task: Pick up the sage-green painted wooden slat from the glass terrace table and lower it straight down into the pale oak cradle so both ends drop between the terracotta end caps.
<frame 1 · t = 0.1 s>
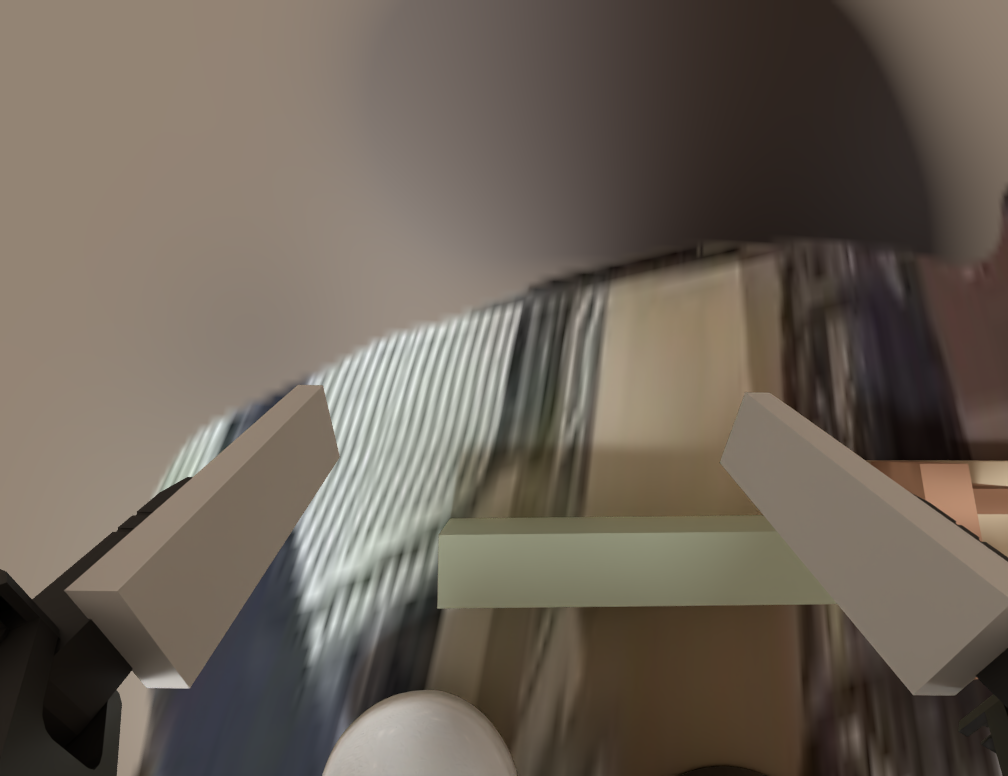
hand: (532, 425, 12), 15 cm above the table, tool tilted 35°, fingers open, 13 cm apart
slat: (617, 544, 26), on the table
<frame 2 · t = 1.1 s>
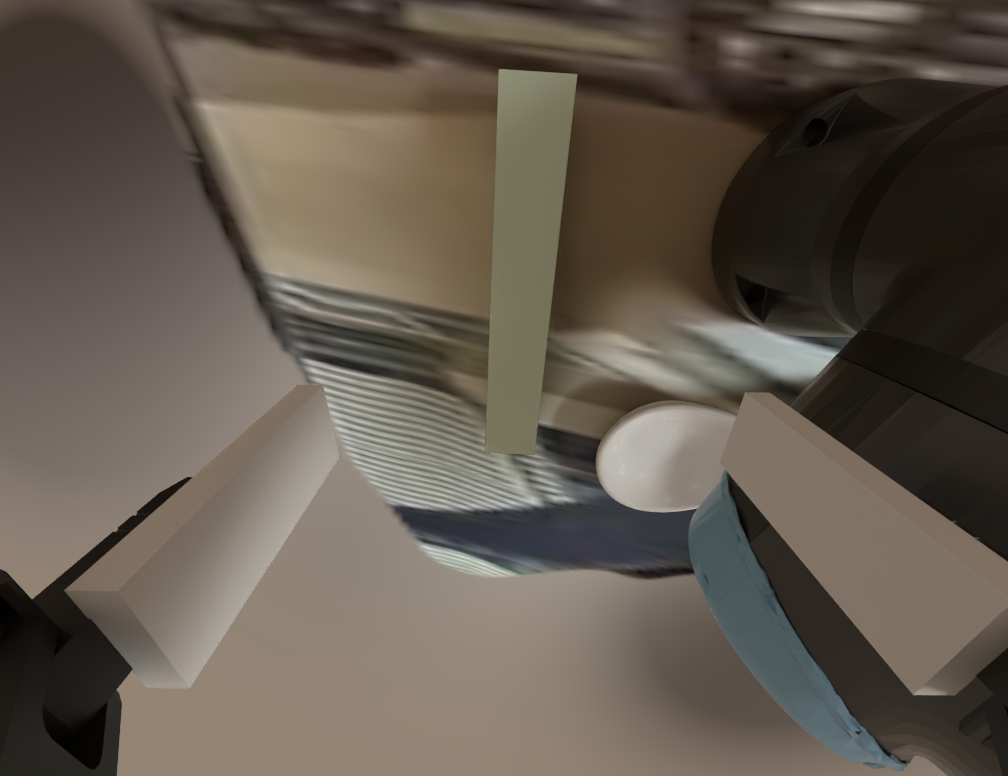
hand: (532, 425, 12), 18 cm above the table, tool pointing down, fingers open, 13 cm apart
spoon rest: (715, 423, 34), on the table
slat: (518, 290, 28), on the table
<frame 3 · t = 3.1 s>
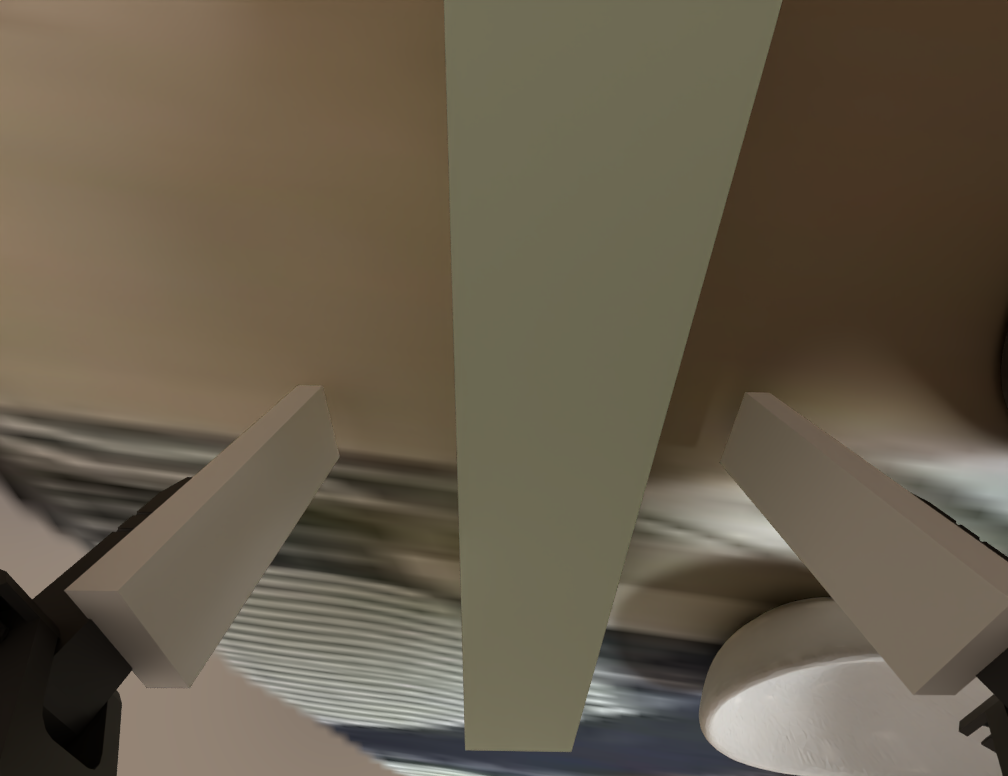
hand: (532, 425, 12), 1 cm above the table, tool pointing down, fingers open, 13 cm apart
spoon rest: (913, 607, 18), on the table
slat: (532, 408, 13), on the table
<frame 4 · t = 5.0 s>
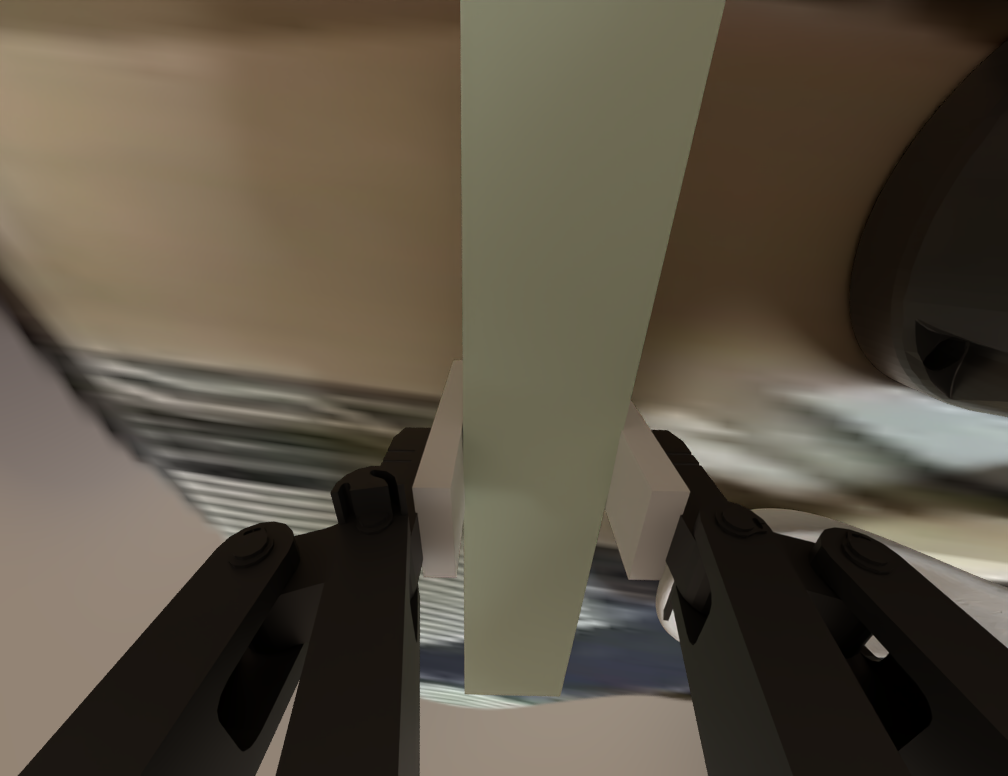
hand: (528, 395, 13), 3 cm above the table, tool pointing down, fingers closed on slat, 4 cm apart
spoon rest: (827, 522, 22), on the table
slat: (527, 386, 14), point 3 cm above the table, touching gripper
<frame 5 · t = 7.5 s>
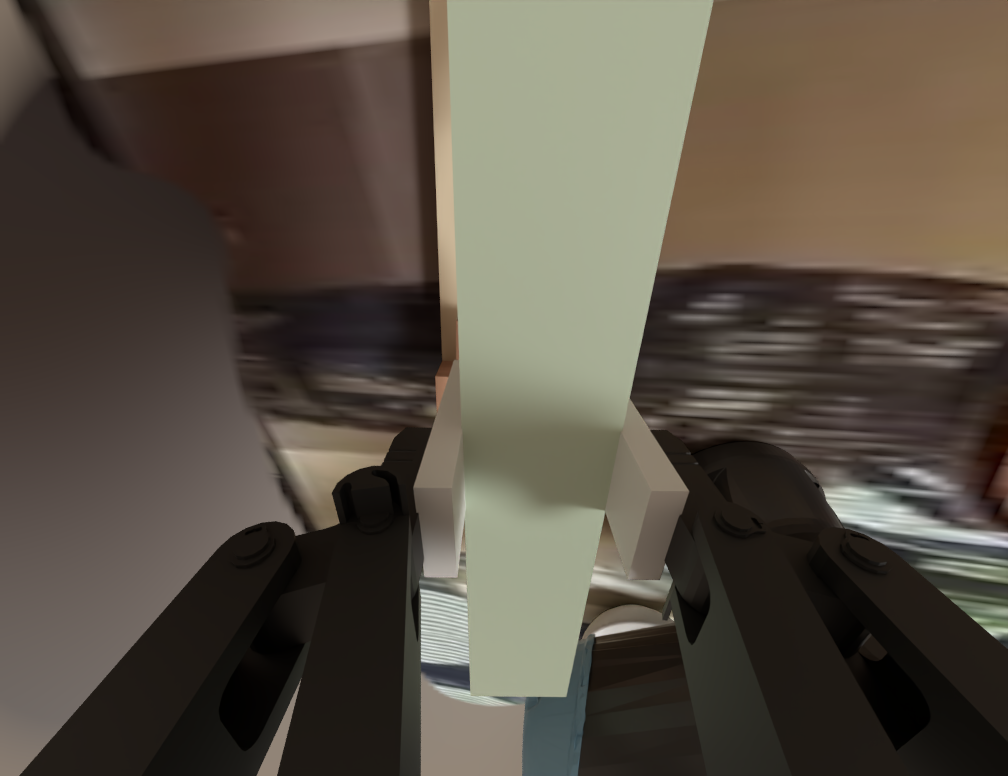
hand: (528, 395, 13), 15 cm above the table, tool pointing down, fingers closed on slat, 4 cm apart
slat cradle: (531, 161, 23), on the table
spoon rest: (673, 610, 43), on the table
slat: (527, 386, 14), point 15 cm above the table, touching gripper
when the fingers open (2 cm above the table, at t = 10.3 s): slat stays where it is, resting on slat cradle.
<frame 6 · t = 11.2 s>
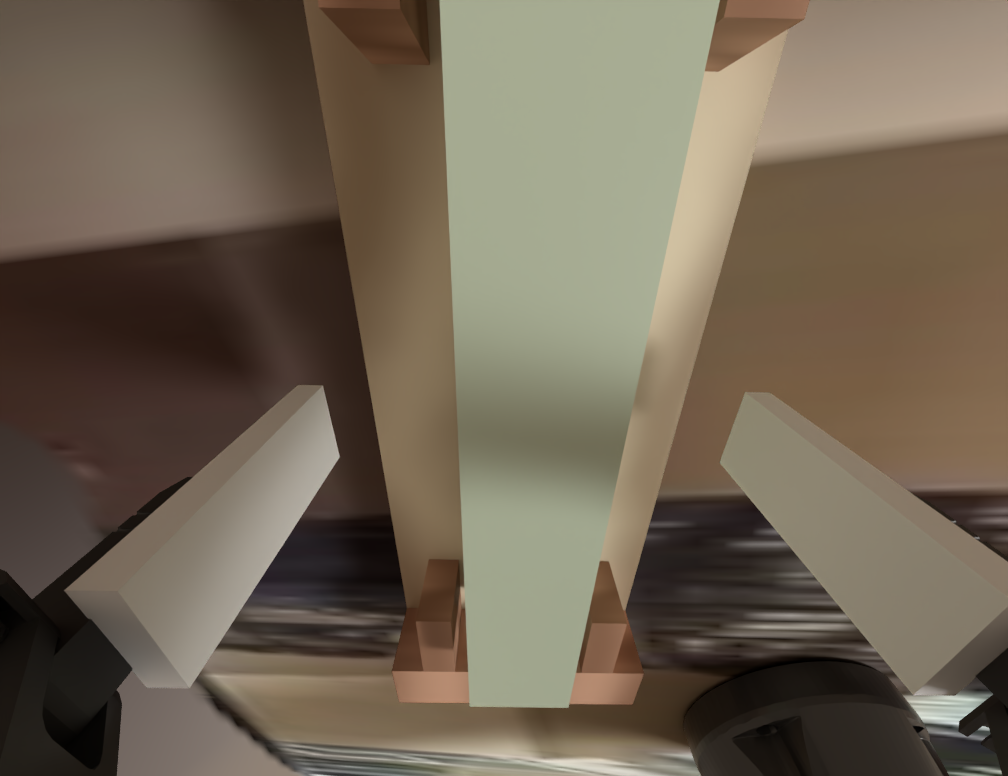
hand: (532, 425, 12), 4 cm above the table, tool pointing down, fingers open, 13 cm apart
slat cradle: (526, 378, 15), on the table
slat: (527, 387, 14), point 1 cm above the table, touching slat cradle
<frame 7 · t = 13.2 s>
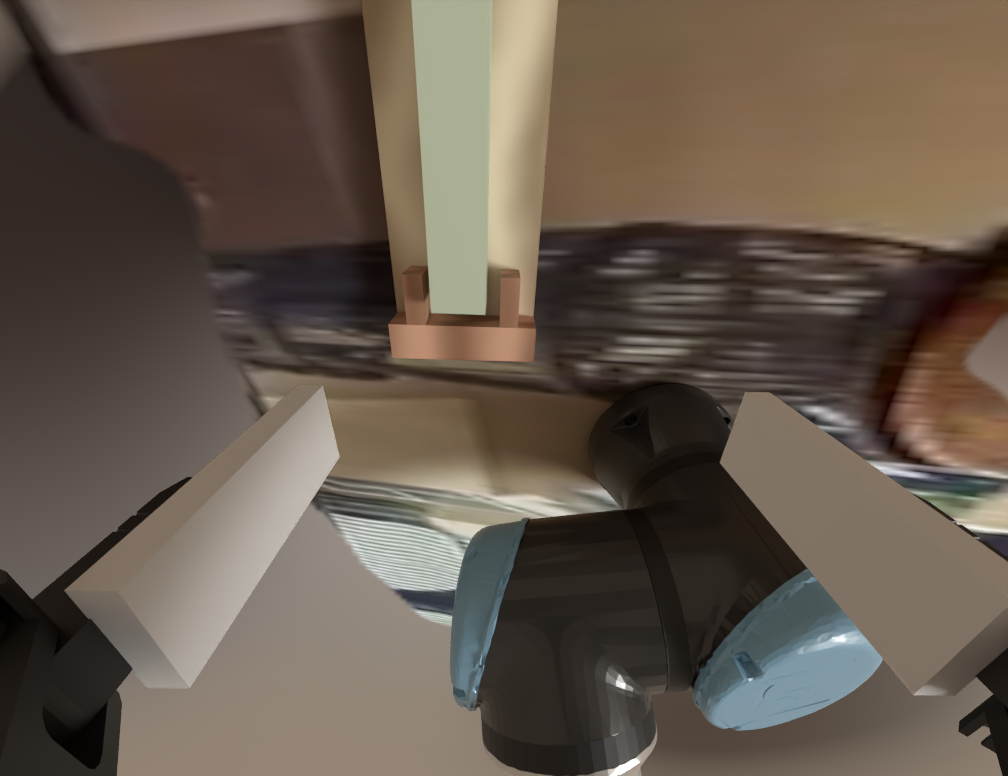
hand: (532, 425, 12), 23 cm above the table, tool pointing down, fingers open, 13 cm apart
slat cradle: (463, 129, 26), on the table
slat: (461, 123, 25), point 1 cm above the table, touching slat cradle
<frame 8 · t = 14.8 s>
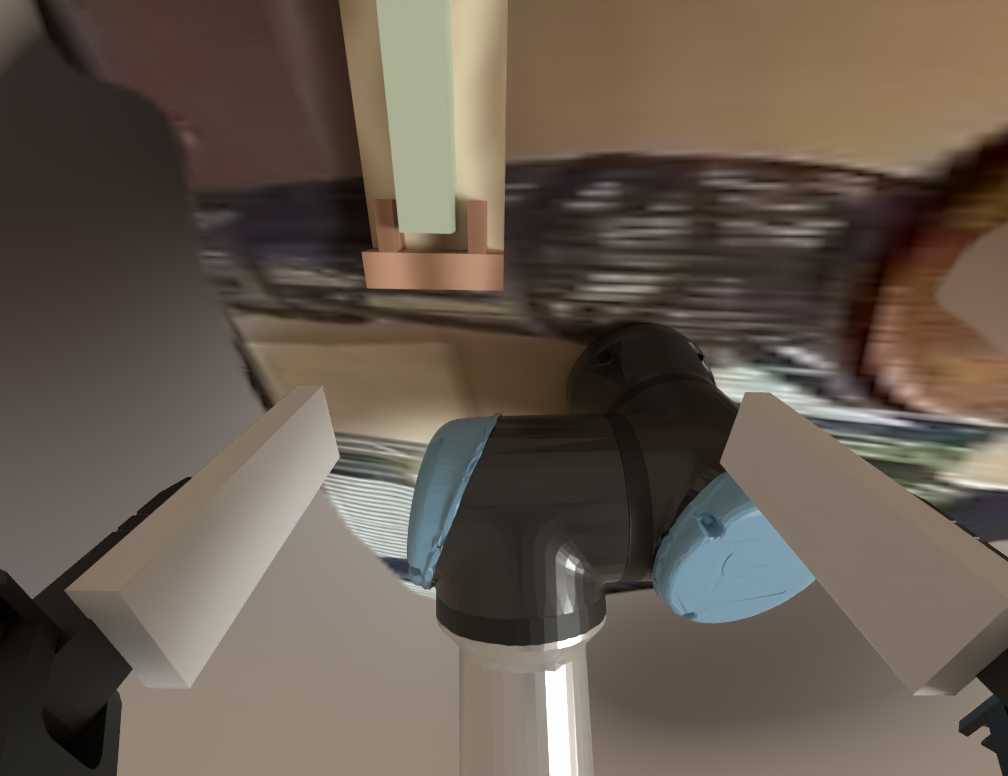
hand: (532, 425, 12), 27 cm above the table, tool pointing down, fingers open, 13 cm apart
slat cradle: (429, 62, 28), on the table
slat: (426, 53, 27), point 1 cm above the table, touching slat cradle
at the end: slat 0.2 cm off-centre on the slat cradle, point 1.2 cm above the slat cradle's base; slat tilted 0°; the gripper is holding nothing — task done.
